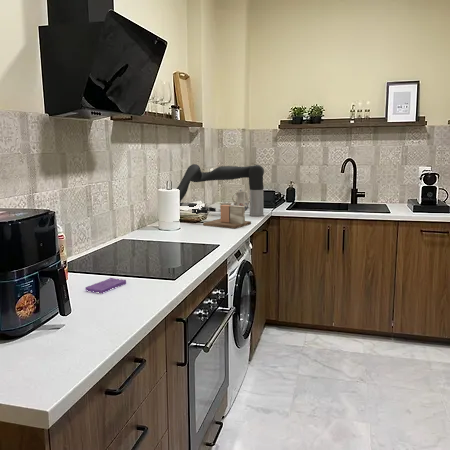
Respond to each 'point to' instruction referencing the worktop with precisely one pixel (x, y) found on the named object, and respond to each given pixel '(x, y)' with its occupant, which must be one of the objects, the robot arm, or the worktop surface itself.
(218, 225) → the ticket stand
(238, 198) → the chinaware
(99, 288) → the sponges
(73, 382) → the worktop surface
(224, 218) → the tan upright block
